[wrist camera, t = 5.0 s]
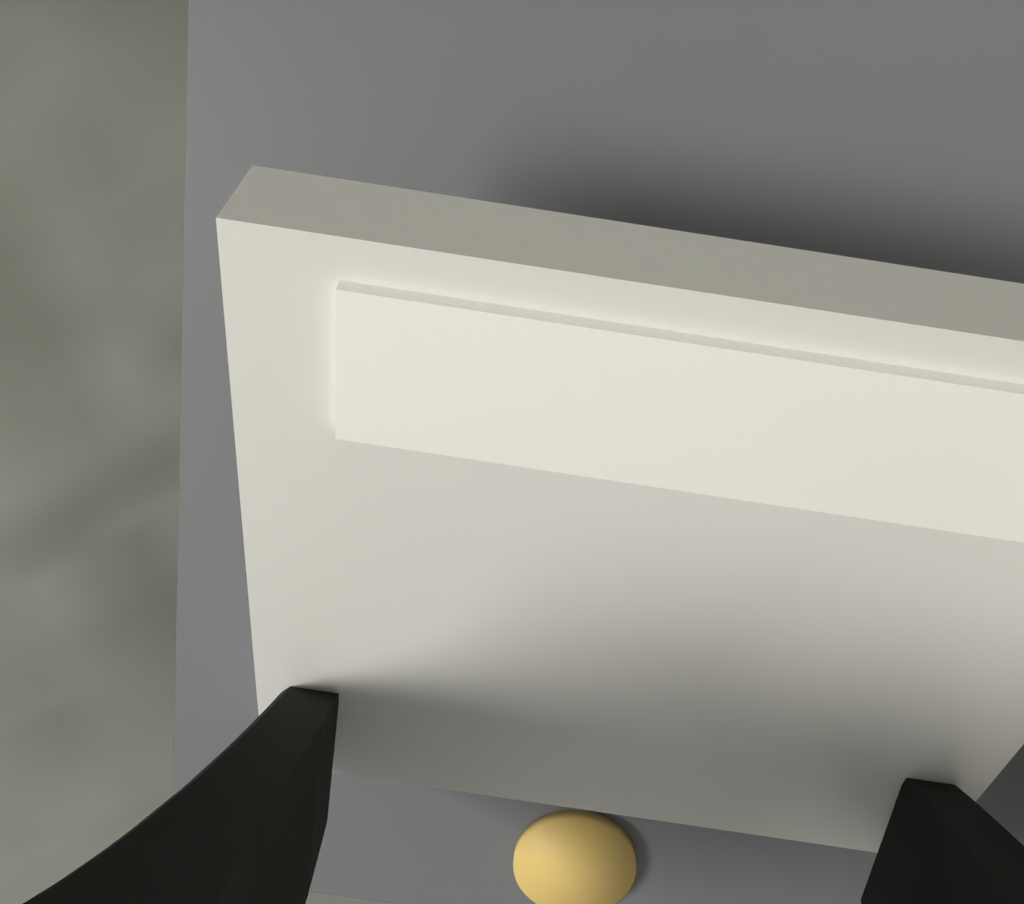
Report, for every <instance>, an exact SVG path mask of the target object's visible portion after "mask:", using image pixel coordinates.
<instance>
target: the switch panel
mask: <svg viewBox="0 0 1024 904" xmlns="http://www.w3.org/2000/svg"><path fill="white" fill-rule="evenodd" d="M252 165H255V166H261V167H268V168H274V169H281V170H287V171H294V172H300V173H307V174H313V175H320V176H326V177H333V178H339V179H346V180H352V181H359V182H365V183H372V184H378V185H385V186H391V187H398V188H404V189H411V190H417V191H424V192H430V193H437V194H443V195H450V196H456V197H463V198H469V199H476V200H482V201H489V202H495V203H502V204H508V205H515V206H521V207H528V208H534V209H541V210H547V211H554V212H560V213H567V214H573V215H580V216H586V217H593V218H599V219H606V220H612V221H619V222H625V223H632V224H638V225H645V226H651V227H658V228H664V229H671V230H677V231H684V232H690V233H697V234H703V235H710V236H716V237H723V238H729V239H736V240H742V241H749V242H755V243H762V244H768V245H775V246H781V247H788V248H794V249H801V250H807V251H814V252H820V253H827V254H833V255H840V256H847V257H853V258H860V259H866V260H873V261H879V262H886V263H892V264H899V265H905V266H912V267H918V268H925V269H931V270H938V271H944V272H951V273H957V274H964V275H970V276H977V277H983V278H990V279H996V280H1003V281H1009V282H1016V283H1022V284H1024V0H188V49H187V101H186V153H185V204H184V256H183V308H182V360H181V412H180V464H179V516H178V567H177V619H176V671H175V723H174V775H173V795H175V794H176V793H177V792H178V791H179V790H181V789H182V788H183V787H184V786H185V785H186V784H188V783H189V782H190V781H191V780H192V779H193V778H194V777H195V776H196V775H198V774H199V773H200V772H201V771H202V770H203V769H204V768H205V767H206V766H207V765H209V764H210V763H211V762H212V761H213V760H214V759H215V758H216V757H217V756H218V755H219V754H221V753H222V752H223V751H224V750H225V749H226V748H227V747H228V746H229V745H230V744H231V743H232V742H233V741H234V740H235V739H236V738H237V737H238V736H239V735H240V734H241V733H242V732H244V731H245V730H246V729H247V728H248V727H249V726H250V725H251V724H252V723H253V722H254V721H255V720H256V718H257V717H258V716H259V715H258V703H257V691H256V680H255V668H254V657H253V645H252V633H251V622H250V610H249V598H248V587H247V575H246V564H245V552H244V540H243V529H242V517H241V505H240V494H239V482H238V471H237V459H236V447H235V436H234V424H233V412H232V401H231V389H230V378H229V366H228V354H227V343H226V331H225V319H224V308H223V296H222V285H221V273H220V261H219V250H218V238H217V226H216V217H217V215H218V214H219V212H220V211H221V209H222V208H223V207H224V205H225V204H226V202H227V201H228V199H229V198H230V197H231V195H232V194H233V192H234V191H235V189H236V188H237V187H238V185H239V184H240V182H241V181H242V179H243V178H244V176H245V175H246V174H247V172H248V171H249V169H250V168H251V166H252ZM976 803H977V804H979V805H980V806H981V807H982V808H983V809H984V810H985V811H986V812H988V813H989V814H990V815H991V816H992V817H993V818H994V819H995V820H996V821H997V822H999V823H1000V824H1001V825H1002V826H1003V827H1004V828H1005V829H1006V830H1007V831H1008V832H1009V833H1011V834H1012V835H1013V836H1014V837H1015V838H1016V839H1017V840H1018V841H1019V842H1020V843H1021V844H1022V845H1024V744H1023V746H1022V747H1021V748H1020V749H1019V750H1018V752H1017V753H1016V754H1015V755H1014V756H1013V758H1012V759H1011V760H1010V761H1009V762H1008V764H1007V765H1006V766H1005V767H1004V768H1003V770H1002V771H1001V772H1000V773H999V774H998V775H997V777H996V778H995V779H994V780H993V781H992V783H991V784H990V785H989V786H988V787H987V789H986V790H985V791H984V792H983V793H982V795H981V796H980V797H979V798H978V799H977V801H976ZM876 855H877V853H875V852H869V851H862V850H855V849H848V848H841V847H835V846H828V845H821V844H814V843H807V842H801V841H794V840H787V839H780V838H773V837H767V836H760V835H753V834H746V833H739V832H733V831H726V830H719V829H712V828H705V827H698V826H692V825H685V824H678V823H671V822H664V821H658V820H651V819H644V818H637V817H630V816H624V815H617V814H610V813H603V812H596V811H590V810H583V809H576V808H569V807H562V806H556V805H549V804H542V803H535V802H528V801H522V800H515V799H508V798H501V797H494V796H488V795H481V794H474V793H467V792H460V791H454V790H447V789H440V788H433V787H426V786H420V785H413V784H406V783H399V782H392V781H386V780H379V779H372V778H365V777H358V776H352V775H345V774H338V773H332V778H331V788H330V799H329V809H328V819H327V824H326V828H325V832H324V836H323V840H322V844H321V848H320V852H319V855H318V859H317V863H316V867H315V871H314V874H313V878H312V882H311V885H310V889H309V891H310V892H317V893H324V894H331V895H338V896H345V897H352V898H359V899H365V900H372V901H379V902H386V903H393V904H861V897H862V895H863V892H864V889H865V886H866V883H867V881H868V878H869V875H870V872H871V869H872V867H873V864H874V861H875V858H876Z"/></svg>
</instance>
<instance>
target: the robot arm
mask: <svg viewBox="0 0 1024 904" xmlns="http://www.w3.org/2000/svg"><path fill="white" fill-rule="evenodd" d="M338 705H339V693H332V692H326V691H319V690H312V689H305V688H299V687H292V686H290V687H289V688H287V689H285V690H284V691H282V692H281V693H280V694H279V695H278V696H277V697H276V699H275V700H274V701H273V702H272V703H271V704H270V705H269V706H268V707H267V708H266V709H265V710H264V711H263V712H262V713H261V714H260V715H259V716H258V717H257V718H256V720H255V721H254V722H253V723H252V724H251V725H250V726H249V727H248V728H247V729H246V730H245V731H244V732H242V733H241V734H240V735H239V736H238V737H237V738H236V739H235V740H234V741H233V742H232V743H231V744H230V745H229V746H228V747H227V748H226V749H225V750H224V751H223V752H222V753H221V754H219V755H218V756H217V757H216V758H215V759H214V760H213V761H212V762H211V763H210V764H209V765H207V766H206V767H205V768H204V769H203V770H202V771H201V772H200V773H199V774H198V775H196V776H195V777H194V778H193V779H192V780H191V781H190V782H189V783H188V784H186V785H185V786H184V787H183V788H182V789H181V790H179V791H178V792H177V793H176V794H175V795H173V796H172V797H171V798H170V799H168V800H167V801H166V802H165V803H164V804H162V805H161V806H160V807H159V808H157V809H156V810H155V811H154V812H153V813H151V814H150V815H149V816H148V817H146V818H145V819H144V820H143V821H141V822H140V823H139V824H138V825H137V826H135V827H134V828H133V829H132V830H130V831H129V832H128V833H126V834H125V835H124V836H122V837H121V838H120V839H118V840H117V841H116V842H114V843H113V844H112V845H110V846H109V847H108V848H106V849H105V850H103V851H102V852H101V853H99V854H98V855H96V856H95V857H94V858H92V859H91V860H89V861H88V862H86V863H85V864H84V865H82V866H81V867H79V868H78V869H76V870H75V871H73V872H72V873H70V874H69V875H67V876H66V877H65V878H63V879H62V880H60V881H59V882H57V883H55V884H54V885H52V886H51V887H49V888H48V889H46V890H44V891H43V892H41V893H39V894H38V895H36V896H35V897H33V898H31V899H30V900H28V901H27V902H25V903H23V904H305V902H306V900H307V897H308V893H309V889H310V885H311V882H312V878H313V874H314V871H315V867H316V863H317V859H318V855H319V852H320V848H321V844H322V840H323V836H324V832H325V828H326V824H327V819H328V809H329V799H330V788H331V778H332V768H333V757H334V747H335V736H336V726H337V716H338ZM861 904H1024V845H1022V844H1021V843H1020V842H1019V841H1018V840H1017V839H1016V838H1015V837H1014V836H1013V835H1012V834H1011V833H1009V832H1008V831H1007V830H1006V829H1005V828H1004V827H1003V826H1002V825H1001V824H1000V823H999V822H997V821H996V820H995V819H994V818H993V817H992V816H991V815H990V814H989V813H988V812H986V811H985V810H984V809H983V808H982V807H981V806H980V805H979V804H977V803H976V802H975V801H974V800H973V799H972V798H970V797H969V796H968V795H967V794H966V793H964V792H963V791H962V790H961V789H960V788H958V787H957V786H956V785H954V784H947V783H940V782H933V781H926V780H919V779H912V778H906V779H905V781H904V782H903V784H902V785H901V788H900V791H899V794H898V797H897V799H896V802H895V805H894V808H893V811H892V813H891V816H890V819H889V822H888V825H887V827H886V830H885V833H884V836H883V839H882V841H881V844H880V847H879V850H878V853H877V855H876V858H875V861H874V864H873V867H872V869H871V872H870V875H869V878H868V881H867V883H866V886H865V889H864V892H863V895H862V897H861Z"/></svg>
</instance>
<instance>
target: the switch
mask: <svg viewBox="0 0 1024 904" xmlns="http://www.w3.org/2000/svg"><path fill="white" fill-rule="evenodd" d="M216 226H217V238H218V250H219V261H220V273H221V285H222V296H223V308H224V319H225V331H226V343H227V354H228V366H229V378H230V389H231V401H232V412H233V424H234V436H235V447H236V459H237V471H238V482H239V494H240V505H241V517H242V529H243V540H244V552H245V564H246V575H247V587H248V598H249V610H250V622H251V633H252V645H253V657H254V668H255V680H256V691H257V703H258V715H260V714H261V713H262V712H263V711H264V710H265V709H266V708H267V707H268V706H269V705H270V704H271V703H272V702H273V701H274V700H275V699H276V697H277V696H278V695H279V694H280V693H281V692H282V691H284V690H285V689H287V688H289V687H290V686H292V687H299V688H305V689H312V690H319V691H326V692H332V693H339V705H338V716H337V726H336V736H335V747H334V757H333V768H332V773H338V774H345V775H352V776H358V777H365V778H372V779H379V780H386V781H392V782H399V783H406V784H413V785H420V786H426V787H433V788H440V789H447V790H454V791H460V792H467V793H474V794H481V795H488V796H494V797H501V798H508V799H515V800H522V801H528V802H535V803H542V804H549V805H556V806H562V807H569V808H576V809H583V810H590V811H596V812H603V813H610V814H617V815H624V816H630V817H637V818H644V819H651V820H658V821H664V822H671V823H678V824H685V825H692V826H698V827H705V828H712V829H719V830H726V831H733V832H739V833H746V834H753V835H760V836H767V837H773V838H780V839H787V840H794V841H801V842H807V843H814V844H821V845H828V846H835V847H841V848H848V849H855V850H862V851H869V852H875V853H878V850H879V847H880V844H881V841H882V839H883V836H884V833H885V830H886V827H887V825H888V822H889V819H890V816H891V813H892V811H893V808H894V805H895V802H896V799H897V797H898V794H899V791H900V788H901V785H902V784H903V782H904V781H905V779H906V778H912V779H919V780H926V781H933V782H940V783H947V784H954V785H956V786H957V787H958V788H960V789H961V790H962V791H963V792H964V793H966V794H967V795H968V796H969V797H970V798H972V799H973V800H974V801H975V802H976V801H977V799H978V798H979V797H980V796H981V795H982V793H983V792H984V791H985V790H986V789H987V787H988V786H989V785H990V784H991V783H992V781H993V780H994V779H995V778H996V777H997V775H998V774H999V773H1000V772H1001V771H1002V770H1003V768H1004V767H1005V766H1006V765H1007V764H1008V762H1009V761H1010V760H1011V759H1012V758H1013V756H1014V755H1015V754H1016V753H1017V752H1018V750H1019V749H1020V748H1021V747H1022V746H1023V744H1024V284H1022V283H1016V282H1009V281H1003V280H996V279H990V278H983V277H977V276H970V275H964V274H957V273H951V272H944V271H938V270H931V269H925V268H918V267H912V266H905V265H899V264H892V263H886V262H879V261H873V260H866V259H860V258H853V257H847V256H840V255H833V254H827V253H820V252H814V251H807V250H801V249H794V248H788V247H781V246H775V245H768V244H762V243H755V242H749V241H742V240H736V239H729V238H723V237H716V236H710V235H703V234H697V233H690V232H684V231H677V230H671V229H664V228H658V227H651V226H645V225H638V224H632V223H625V222H619V221H612V220H606V219H599V218H593V217H586V216H580V215H573V214H567V213H560V212H554V211H547V210H541V209H534V208H528V207H521V206H515V205H508V204H502V203H495V202H489V201H482V200H476V199H469V198H463V197H456V196H450V195H443V194H437V193H430V192H424V191H417V190H411V189H404V188H398V187H391V186H385V185H378V184H372V183H365V182H359V181H352V180H346V179H339V178H333V177H326V176H320V175H313V174H307V173H300V172H294V171H287V170H281V169H274V168H268V167H261V166H255V165H252V166H251V168H250V169H249V171H248V172H247V174H246V175H245V176H244V178H243V179H242V181H241V182H240V184H239V185H238V187H237V188H236V189H235V191H234V192H233V194H232V195H231V197H230V198H229V199H228V201H227V202H226V204H225V205H224V207H223V208H222V209H221V211H220V212H219V214H218V215H217V217H216Z"/></svg>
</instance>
